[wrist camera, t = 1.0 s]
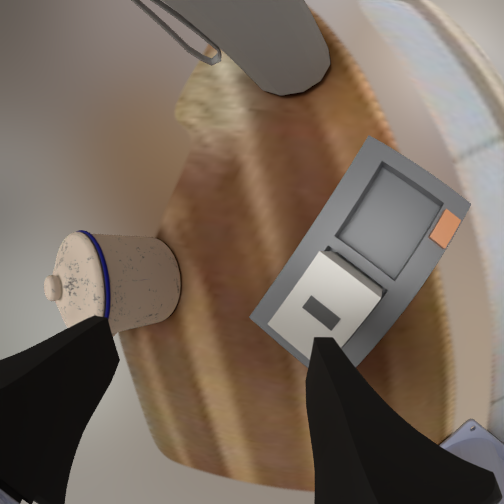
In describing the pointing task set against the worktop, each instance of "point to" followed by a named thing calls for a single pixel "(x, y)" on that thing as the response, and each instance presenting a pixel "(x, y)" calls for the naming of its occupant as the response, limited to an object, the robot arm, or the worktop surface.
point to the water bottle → (256, 38)
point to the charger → (326, 303)
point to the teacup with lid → (114, 280)
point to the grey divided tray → (375, 239)
